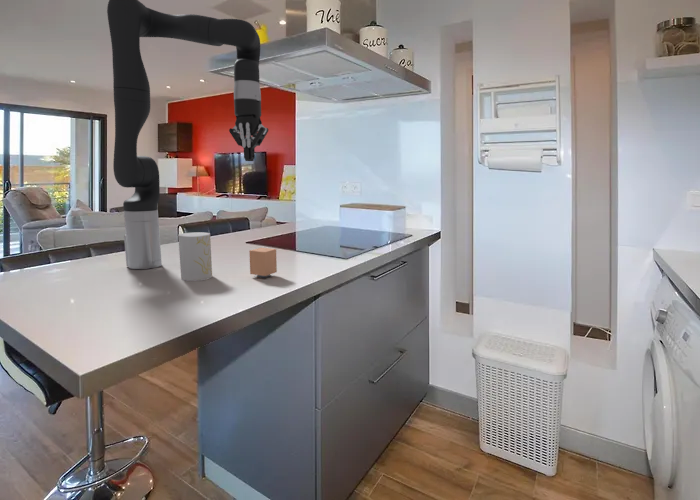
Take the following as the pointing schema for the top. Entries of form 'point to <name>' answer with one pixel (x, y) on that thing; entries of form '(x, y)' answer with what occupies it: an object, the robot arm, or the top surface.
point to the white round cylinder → (195, 256)
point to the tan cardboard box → (263, 261)
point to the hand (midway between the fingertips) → (249, 161)
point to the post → (263, 276)
